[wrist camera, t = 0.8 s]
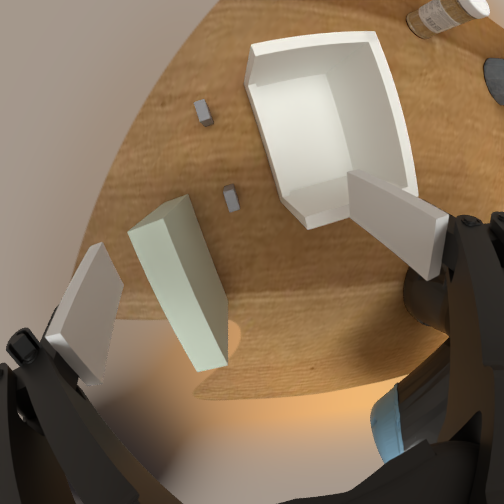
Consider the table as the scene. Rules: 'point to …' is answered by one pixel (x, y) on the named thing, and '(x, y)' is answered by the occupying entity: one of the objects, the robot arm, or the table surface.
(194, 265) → the door
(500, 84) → the moka pot
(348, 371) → the table surface
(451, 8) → the sprinkles bottle
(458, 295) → the robot arm
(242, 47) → the table surface
